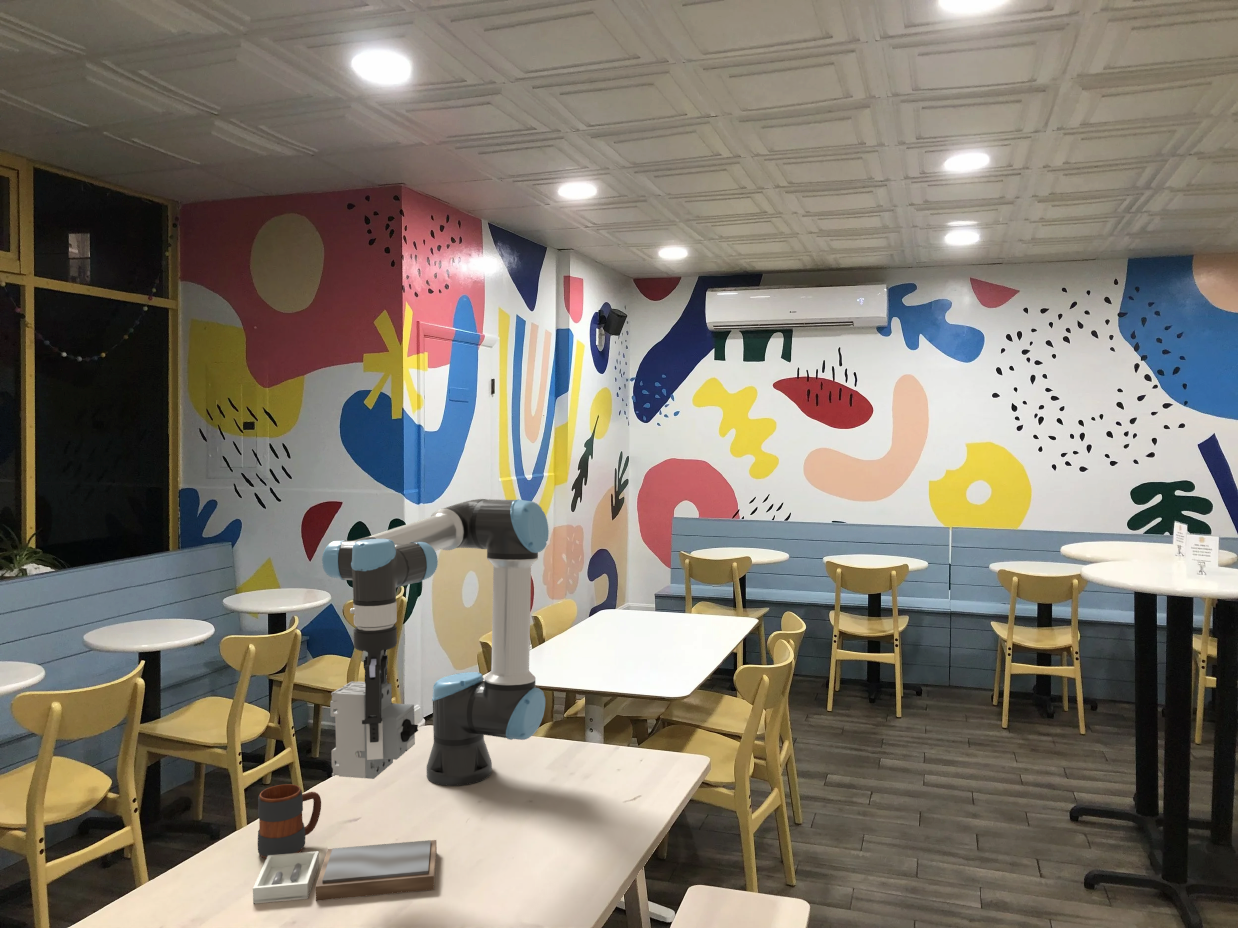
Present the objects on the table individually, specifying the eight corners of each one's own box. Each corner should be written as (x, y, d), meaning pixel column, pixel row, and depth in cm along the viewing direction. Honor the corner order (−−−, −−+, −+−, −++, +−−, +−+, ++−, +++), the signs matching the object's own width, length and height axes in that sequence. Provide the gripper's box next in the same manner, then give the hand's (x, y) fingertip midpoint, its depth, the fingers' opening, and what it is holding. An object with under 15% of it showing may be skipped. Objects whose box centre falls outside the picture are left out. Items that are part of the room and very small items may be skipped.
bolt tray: (268, 869, 166) (268, 855, 166) (319, 865, 168) (318, 850, 168) (253, 903, 155) (252, 888, 155) (307, 898, 156) (307, 883, 156)
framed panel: (328, 861, 169) (327, 846, 169) (436, 852, 173) (436, 837, 172) (315, 900, 155) (315, 883, 155) (433, 889, 159) (433, 872, 159)
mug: (328, 848, 175) (327, 789, 174) (264, 866, 168) (262, 804, 167) (315, 832, 182) (314, 775, 181) (253, 848, 175) (251, 789, 174)
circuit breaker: (406, 781, 158) (404, 696, 157) (331, 775, 161) (329, 692, 160) (423, 765, 165) (422, 684, 165) (352, 760, 168) (350, 681, 168)
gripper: (360, 613, 172) (363, 729, 173) (345, 641, 151) (348, 773, 152) (400, 612, 173) (403, 727, 174) (391, 638, 152) (394, 769, 153)
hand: (377, 748), depth 163 cm, fingers closed on circuit breaker, 9 cm apart
